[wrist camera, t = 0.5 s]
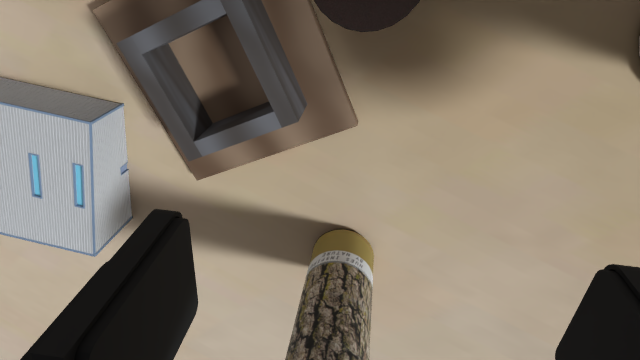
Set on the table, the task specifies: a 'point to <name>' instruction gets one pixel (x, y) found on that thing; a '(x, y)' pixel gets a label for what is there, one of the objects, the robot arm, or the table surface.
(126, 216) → the warehouse
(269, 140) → the holder
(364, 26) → the deodorant
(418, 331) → the table surface
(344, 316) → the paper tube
